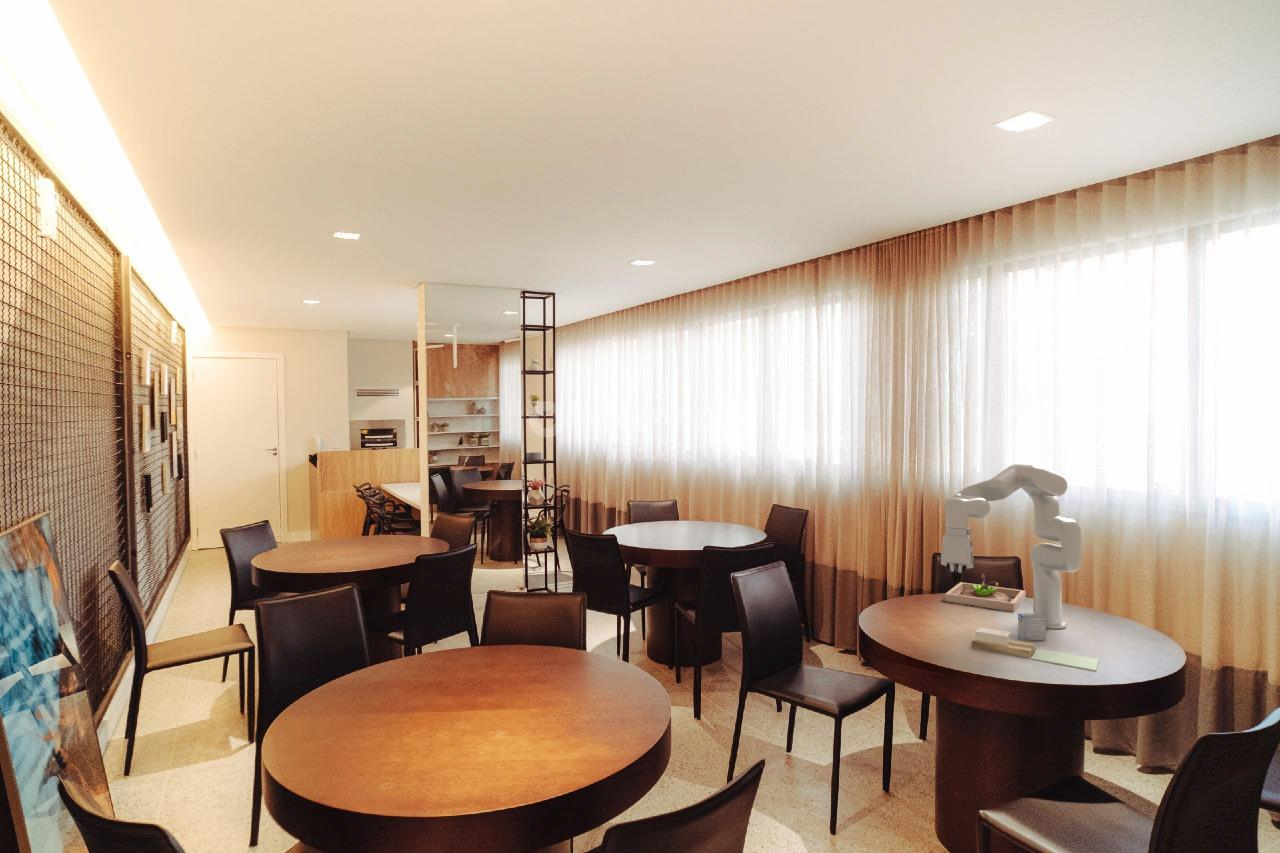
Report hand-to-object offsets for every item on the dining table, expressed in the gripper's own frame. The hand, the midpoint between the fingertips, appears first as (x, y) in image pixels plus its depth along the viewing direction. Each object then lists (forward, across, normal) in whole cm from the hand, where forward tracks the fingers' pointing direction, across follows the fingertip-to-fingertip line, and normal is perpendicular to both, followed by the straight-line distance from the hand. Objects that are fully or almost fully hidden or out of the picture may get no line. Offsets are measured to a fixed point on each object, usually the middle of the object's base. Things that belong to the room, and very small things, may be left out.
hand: (956, 582), depth 249 cm
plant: (+22, +5, -68) cm, 72 cm away
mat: (+21, -34, 0) cm, 40 cm away
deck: (+21, -15, 0) cm, 26 cm away
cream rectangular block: (+19, -12, 0) cm, 22 cm away
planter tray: (+21, +4, -67) cm, 70 cm away
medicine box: (+21, -21, -19) cm, 35 cm away
